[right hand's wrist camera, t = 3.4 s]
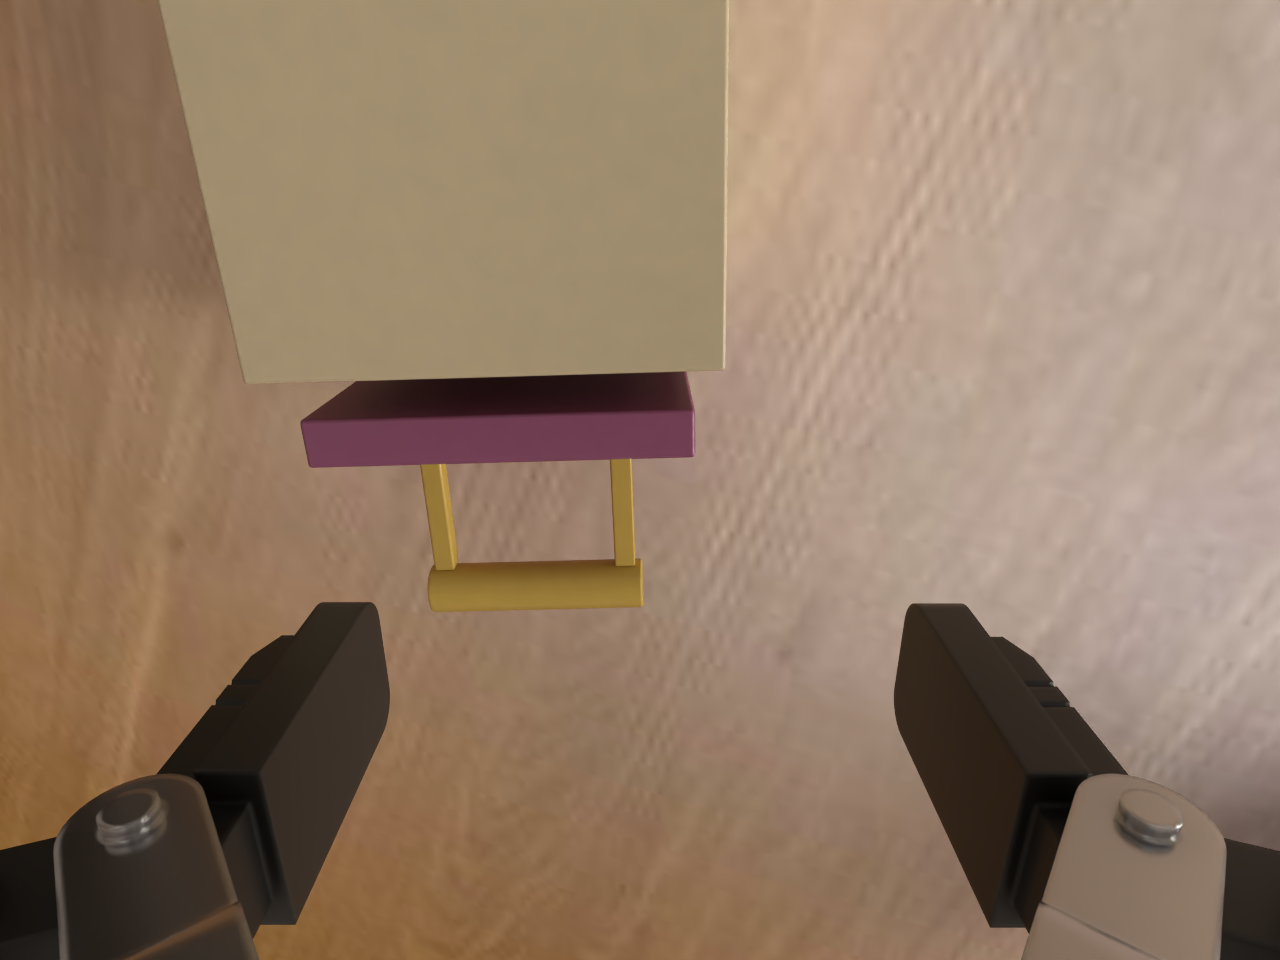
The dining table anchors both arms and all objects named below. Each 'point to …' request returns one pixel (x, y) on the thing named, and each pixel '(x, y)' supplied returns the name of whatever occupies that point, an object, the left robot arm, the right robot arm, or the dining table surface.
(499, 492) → the dining table surface
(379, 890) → the dining table surface
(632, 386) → the drawer
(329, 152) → the cabinet
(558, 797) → the dining table surface
